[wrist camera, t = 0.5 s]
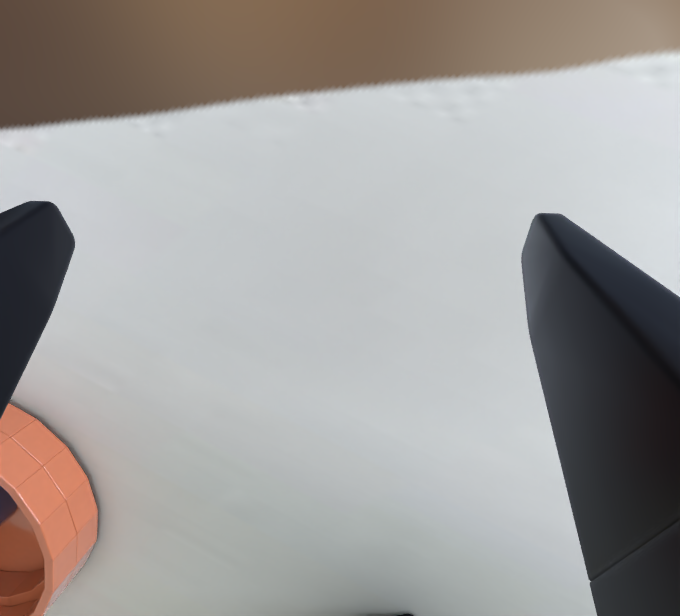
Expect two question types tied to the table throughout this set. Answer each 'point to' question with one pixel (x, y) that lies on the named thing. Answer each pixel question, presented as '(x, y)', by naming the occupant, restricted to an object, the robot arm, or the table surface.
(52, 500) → the bowl
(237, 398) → the table surface
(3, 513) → the salt shaker
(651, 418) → the robot arm
